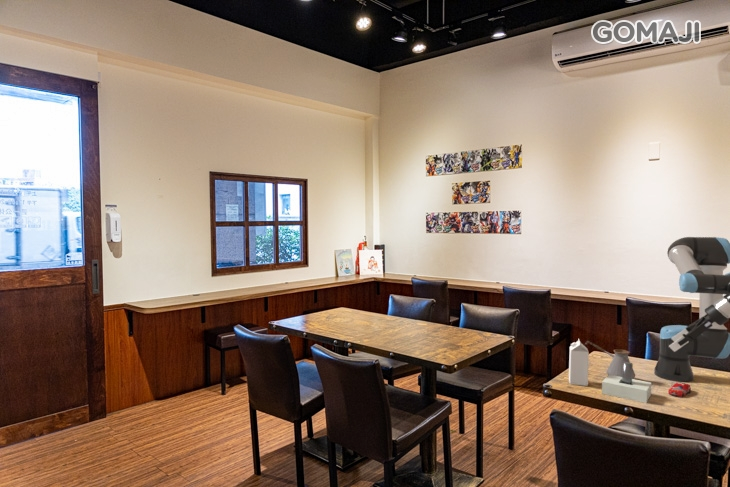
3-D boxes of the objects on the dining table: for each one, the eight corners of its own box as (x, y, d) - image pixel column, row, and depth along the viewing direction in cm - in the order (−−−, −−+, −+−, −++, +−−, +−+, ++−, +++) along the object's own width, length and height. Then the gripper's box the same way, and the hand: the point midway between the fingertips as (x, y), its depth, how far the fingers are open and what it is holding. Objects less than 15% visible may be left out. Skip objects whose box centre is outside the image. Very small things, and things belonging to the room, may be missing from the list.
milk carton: (585, 381, 211) (587, 339, 210) (587, 386, 205) (589, 343, 204) (568, 379, 214) (569, 337, 213) (569, 384, 207) (571, 341, 206)
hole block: (601, 393, 196) (602, 381, 196) (608, 385, 206) (608, 374, 205) (646, 403, 186) (646, 390, 186) (651, 394, 196) (651, 382, 195)
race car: (681, 399, 192) (681, 389, 191) (666, 395, 196) (666, 385, 196) (693, 392, 200) (693, 382, 199) (678, 388, 204) (678, 379, 204)
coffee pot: (638, 379, 214) (639, 346, 214) (630, 385, 206) (631, 351, 205) (589, 368, 229) (590, 338, 229) (580, 374, 221) (581, 342, 220)
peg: (625, 392, 198) (626, 361, 198) (633, 395, 195) (634, 363, 194) (619, 393, 197) (620, 362, 196) (627, 396, 193) (628, 364, 193)
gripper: (731, 325, 167) (678, 360, 176) (729, 313, 187) (682, 345, 196) (713, 309, 169) (662, 344, 179) (712, 298, 189) (667, 331, 199)
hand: (672, 344), depth 188 cm, fingers open, 13 cm apart
